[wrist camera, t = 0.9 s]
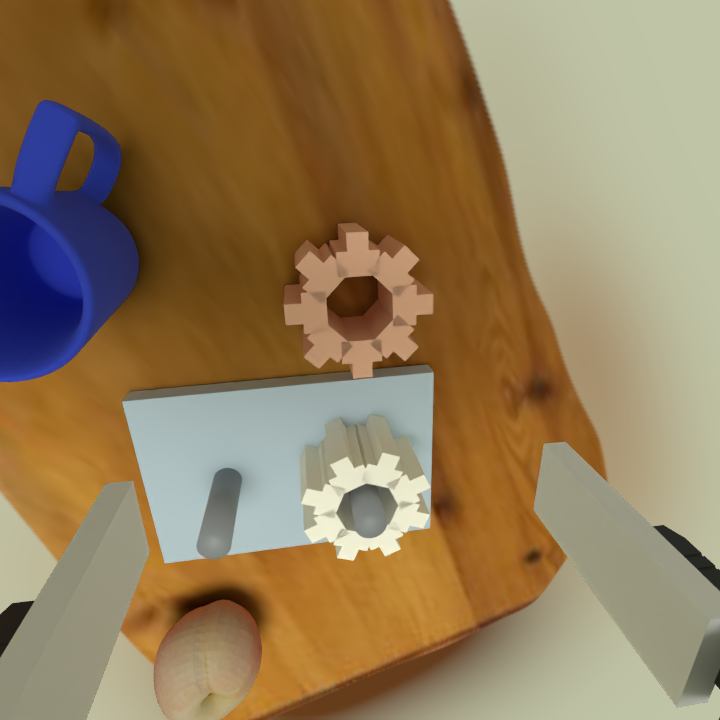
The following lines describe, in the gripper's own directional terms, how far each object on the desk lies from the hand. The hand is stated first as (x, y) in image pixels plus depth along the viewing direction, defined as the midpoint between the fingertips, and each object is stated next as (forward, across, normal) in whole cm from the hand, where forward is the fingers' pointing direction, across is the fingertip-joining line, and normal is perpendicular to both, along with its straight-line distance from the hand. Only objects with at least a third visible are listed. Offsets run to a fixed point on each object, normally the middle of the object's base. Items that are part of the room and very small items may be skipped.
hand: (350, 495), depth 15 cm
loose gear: (+18, +2, +2) cm, 18 cm away
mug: (+18, -13, +7) cm, 24 cm away
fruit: (+18, -10, -26) cm, 33 cm away
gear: (+17, +2, -10) cm, 20 cm away
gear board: (+18, -2, -11) cm, 21 cm away
